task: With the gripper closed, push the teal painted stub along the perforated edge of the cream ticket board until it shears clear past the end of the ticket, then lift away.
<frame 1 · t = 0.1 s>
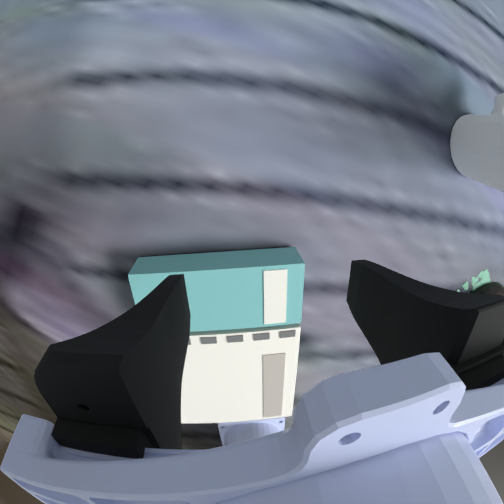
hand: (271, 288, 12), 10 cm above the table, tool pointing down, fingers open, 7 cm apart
mug: (471, 130, 20), on the table
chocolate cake: (466, 331, 31), on the table
ticket: (226, 361, 27), on the table
stub: (217, 291, 21), point 2 cm above the table, slide at 0.0 cm
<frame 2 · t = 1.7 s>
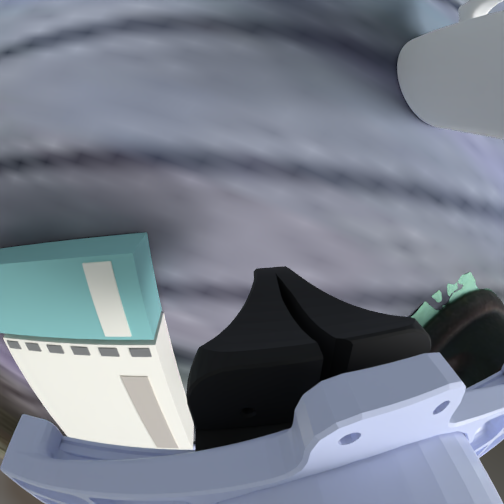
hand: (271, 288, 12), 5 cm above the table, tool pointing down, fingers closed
mug: (434, 61, 13), on the table
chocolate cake: (445, 354, 24), on the table
ticket: (108, 376, 20), on the table
stub: (58, 290, 14), point 2 cm above the table, slide at 0.0 cm
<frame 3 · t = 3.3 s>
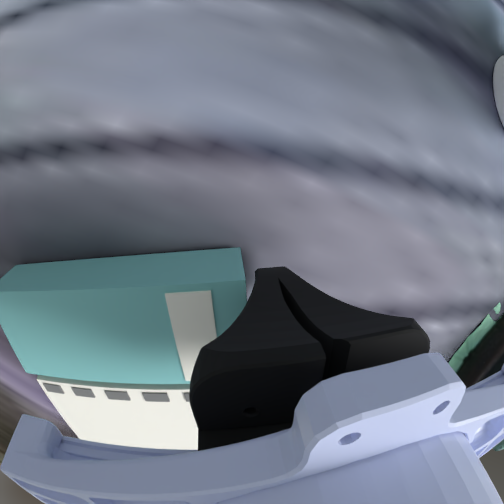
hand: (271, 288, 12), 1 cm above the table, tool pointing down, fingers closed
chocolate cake: (490, 361, 21), on the table
ticket: (168, 410, 17), on the table
stub: (111, 322, 12), point 2 cm above the table, slide at 0.5 cm, touching gripper
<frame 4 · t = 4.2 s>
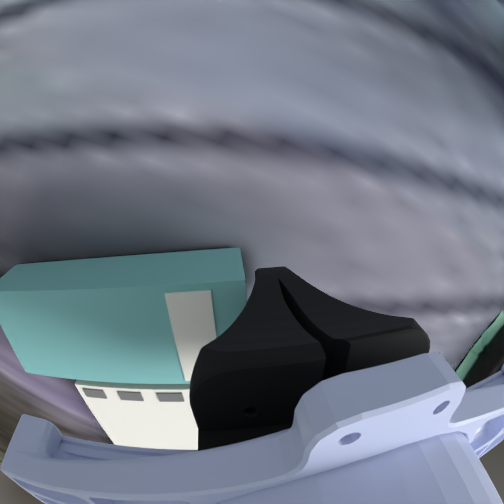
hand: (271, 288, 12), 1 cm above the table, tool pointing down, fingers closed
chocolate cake: (500, 357, 22), on the table
ticket: (208, 409, 17), on the table
stub: (111, 322, 12), point 2 cm above the table, slide at 3.3 cm, touching gripper
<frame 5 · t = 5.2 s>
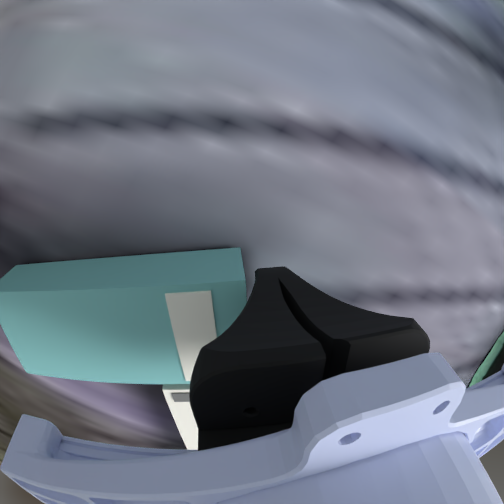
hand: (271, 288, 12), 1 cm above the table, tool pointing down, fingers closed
ticket: (280, 403, 18), on the table
stub: (111, 322, 12), point 2 cm above the table, slide at 8.0 cm, touching gripper
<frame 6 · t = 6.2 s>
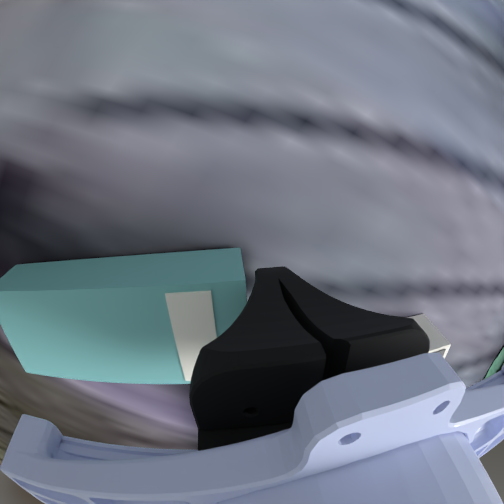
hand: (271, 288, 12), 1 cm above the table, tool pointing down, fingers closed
ticket: (325, 396, 18), on the table
stub: (111, 322, 12), point 2 cm above the table, slide at 11.1 cm, touching gripper
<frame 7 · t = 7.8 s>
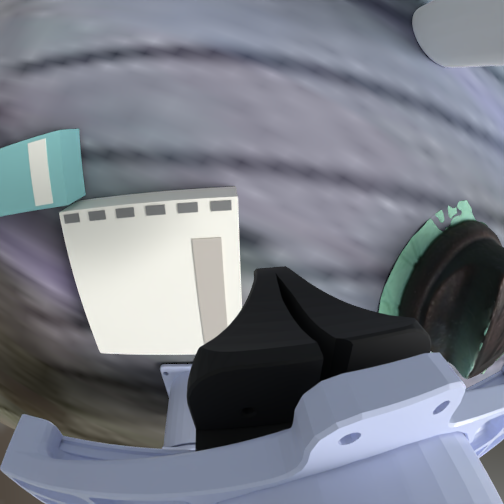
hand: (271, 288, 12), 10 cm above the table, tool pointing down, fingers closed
mug: (437, 23, 15), on the table
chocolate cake: (450, 287, 27), on the table
ticket: (161, 268, 22), on the table
stub: (12, 178, 16), point 2 cm above the table, slide at 11.1 cm
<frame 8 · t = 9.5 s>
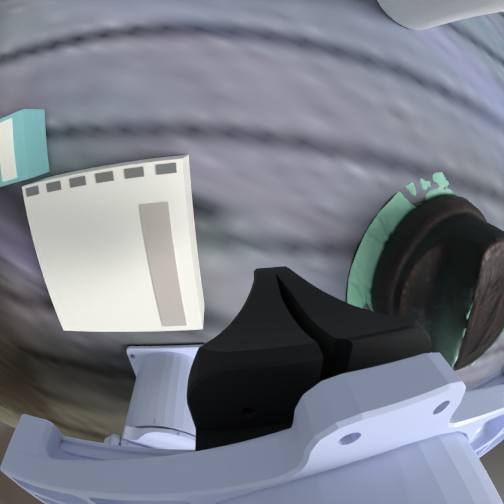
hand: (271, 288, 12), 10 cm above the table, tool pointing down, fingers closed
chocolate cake: (431, 269, 26), on the table
ticket: (119, 242, 21), on the table
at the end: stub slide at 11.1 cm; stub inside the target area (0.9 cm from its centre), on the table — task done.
